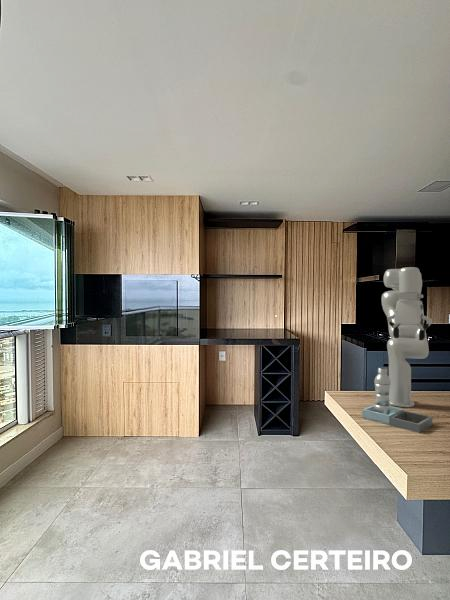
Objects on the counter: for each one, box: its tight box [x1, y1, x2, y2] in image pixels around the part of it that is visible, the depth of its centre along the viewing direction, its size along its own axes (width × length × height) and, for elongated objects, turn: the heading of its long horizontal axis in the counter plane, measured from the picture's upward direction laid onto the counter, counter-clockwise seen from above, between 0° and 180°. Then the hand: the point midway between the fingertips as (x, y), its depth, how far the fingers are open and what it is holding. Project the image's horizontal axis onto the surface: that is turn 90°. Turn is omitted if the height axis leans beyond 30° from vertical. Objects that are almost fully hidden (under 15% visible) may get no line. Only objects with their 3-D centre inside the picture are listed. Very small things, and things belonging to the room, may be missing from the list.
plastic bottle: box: [373, 367, 391, 415], centre depth 147 cm, size 6×7×20 cm
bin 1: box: [361, 404, 405, 426], centre depth 147 cm, size 14×11×4 cm
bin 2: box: [388, 410, 433, 434], centre depth 139 cm, size 14×11×3 cm
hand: (408, 339), depth 145 cm, fingers open, 9 cm apart
